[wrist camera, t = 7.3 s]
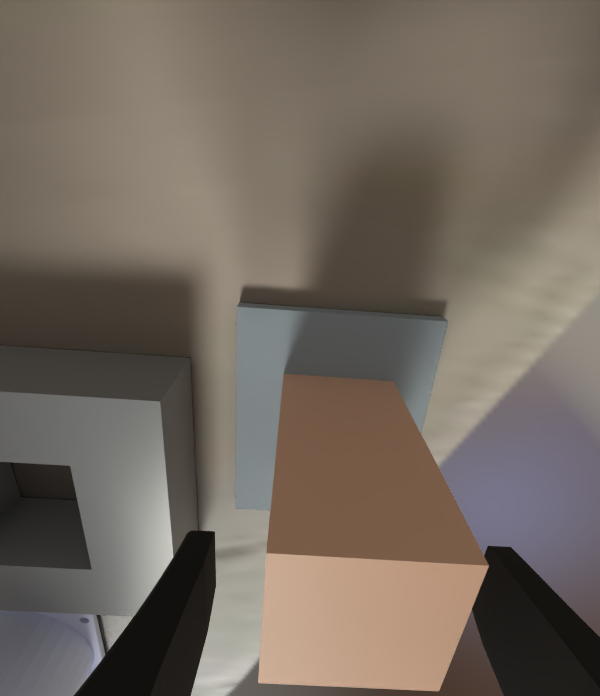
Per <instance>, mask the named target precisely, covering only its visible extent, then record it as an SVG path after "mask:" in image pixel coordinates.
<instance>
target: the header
mask: <svg viewBox="0 0 600 696" xmlns="http://www.w3.org/2000/svg"><path fill="white" fill-rule="evenodd" d="M11 462H13V463H30V464H48V465H65V466H70V468H71V473H72V478H73V482H74V487H75V492H76V497H77V500H63V499H45V498H26V497H20V493H19V490H18V486H17V483H16V479H15V476H14V472H13V469H12V465H11ZM191 530H194V531H198V511H197V490H196V468H195V447H194V425H193V404H192V382H191V361H190V358H186V357H171V356H156V355H141V354H126V353H110V352H95V351H80V350H65V349H50V348H34V347H19V346H4V345H0V610H5V611H26V612H48V613H70V614H92V615H114V616H135V614H136V613H137V611H138V610H139V608H140V607H141V606H142V604H143V603H144V601H145V600H146V598H147V597H148V595H149V594H150V592H151V591H152V590H153V588H154V587H155V585H156V584H157V582H158V581H159V579H160V577H161V576H162V574H163V573H164V571H165V570H166V568H167V567H168V565H169V563H170V562H171V560H172V558H173V557H174V555H175V553H176V552H177V550H178V548H179V547H180V545H181V543H182V541H183V540H184V538H185V536H186V534H187V533H188V532H190V531H191Z"/></svg>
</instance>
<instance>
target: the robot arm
mask: <svg viewBox="0 0 600 696" xmlns="http://www.w3.org/2000/svg"><path fill="white" fill-rule="evenodd" d="M484 557H485V559H486V561H487V563H488V565H489V567H488V570H487V572H486V575H485V577H484V580H483V582H482V585H481V587H480V590H479V592H478V595H477V597H476V600H475V602H474V605H473V607H472V611H473V614H474V618H475V621H476V624H477V627H478V630H479V634H480V636H481V640H482V643H483V646H484V648H485V651H486V653H487V656H488V658H489V660H490V663H491V666H492V668H493V670H494V673H495V675H496V678H497V680H498V682H499V684H500V687H501V690H502V692H503V694H504V696H600V637H599V636H598V635H597V634H596V633H595V632H594V631H593V630H592V629H591V628H590V627H589V626H588V625H587V624H586V623H585V622H584V621H583V620H582V619H581V618H580V617H579V616H578V615H577V614H576V613H575V612H574V611H573V610H572V609H571V608H570V607H569V606H568V605H567V604H566V603H565V602H564V601H563V600H562V599H561V598H560V597H559V596H558V595H557V594H556V593H555V592H554V591H553V590H552V589H551V588H550V587H549V586H548V585H547V583H545V581H543V579H542V578H541V577H540V576H539V575H538V574H537V573H536V572H535V571H534V570H533V569H532V568H531V567H530V566H529V565H528V564H527V563H526V562H525V561H524V560H523V559H522V558H521V557H520V556H519V555H518V554H517V553H516V552H515V551H514V550H513V549H512V548H511V547H497V546H488V547H487V550H486V553H485V555H484ZM215 588H216V567H215V532H213V531H194V530H191V531H190V532H188V533H187V534H186V536H185V538H184V540H183V541H182V543H181V545H180V547H179V548H178V550H177V552H176V553H175V555H174V557H173V558H172V560H171V562H170V563H169V565H168V567H167V568H166V570H165V571H164V573H163V574H162V576H161V577H160V579H159V581H158V582H157V584H156V585H155V587H154V588H153V590H152V591H151V592H150V594H149V595H148V597H147V598H146V600H145V601H144V603H143V604H142V606H141V607H140V608H139V610H138V611H137V613H136V614H135V616H134V617H133V619H132V620H131V621H130V623H129V624H128V626H127V627H126V628H125V630H124V631H123V632H122V634H121V635H120V636H119V638H118V639H117V640H116V642H115V643H114V644H113V646H112V647H111V648H110V650H109V651H108V652H107V654H106V655H105V651H104V647H103V642H102V638H101V633H100V628H99V624H98V619H97V615H92V614H70V613H48V612H26V611H5V610H0V696H191V692H192V688H193V684H194V681H195V677H196V673H197V670H198V666H199V662H200V658H201V655H202V651H203V647H204V643H205V640H206V636H207V632H208V627H209V621H210V616H211V610H212V605H213V599H214V593H215Z"/></svg>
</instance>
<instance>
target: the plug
mask: <svg viewBox="0 0 600 696" xmlns="http://www.w3.org/2000/svg"><path fill="white" fill-rule="evenodd" d="M488 567H489V565H488V563H487V561H486V559H485V557H484V555H483V553H482V551H481V549H480V547H479V545H478V543H477V542H476V540H475V538H474V536H473V534H472V532H471V530H470V528H469V526H468V524H467V522H466V520H465V518H464V516H463V514H462V512H461V511H460V509H459V507H458V505H457V503H456V501H455V499H454V497H453V495H452V493H451V491H450V489H449V487H448V485H447V484H446V482H445V480H444V478H443V476H442V474H441V472H440V470H439V468H438V466H437V464H436V462H435V460H434V458H433V456H432V454H431V452H430V450H429V449H428V447H427V445H426V443H425V441H424V439H423V437H422V435H421V433H420V431H419V429H418V427H417V425H416V423H415V421H414V419H413V418H412V416H411V414H410V412H409V410H408V408H407V406H406V404H405V402H404V400H403V398H402V396H401V394H400V392H399V390H398V388H397V387H396V385H395V383H394V381H380V380H366V379H352V378H338V377H324V376H310V375H296V374H283V384H282V394H281V405H280V415H279V426H278V436H277V447H276V458H275V468H274V479H273V489H272V500H271V511H270V521H269V532H268V542H267V553H266V568H265V584H264V600H263V616H262V632H261V647H260V663H259V680H258V683H270V684H292V685H314V686H316V685H317V686H336V687H358V688H380V689H403V690H424V691H439V690H440V687H441V684H442V682H443V680H444V677H445V675H446V672H447V670H448V667H449V665H450V662H451V660H452V657H453V655H454V652H455V650H456V647H457V645H458V642H459V640H460V637H461V635H462V632H463V630H464V627H465V625H466V622H467V620H468V617H469V615H470V612H471V610H472V607H473V605H474V602H475V600H476V597H477V595H478V592H479V590H480V587H481V585H482V582H483V580H484V577H485V575H486V572H487V570H488Z"/></svg>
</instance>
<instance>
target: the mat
mask: <svg viewBox="0 0 600 696" xmlns="http://www.w3.org/2000/svg"><path fill="white" fill-rule="evenodd" d="M447 324H448V321H447V320H446V319H444V318H443V317H438V316H424V315H410V314H396V313H381V312H367V311H353V310H339V309H324V308H310V307H296V306H282V305H267V304H253V303H239V304H238V306H237V364H236V509H251V510H269V511H271V500H272V489H273V479H274V468H275V458H276V447H277V436H278V426H279V415H280V405H281V394H282V384H283V374H296V375H310V376H324V377H338V378H352V379H366V380H380V381H394V383H395V385H396V387H397V388H398V390H399V392H400V394H401V396H402V398H403V400H404V402H405V404H406V406H407V408H408V410H409V412H410V414H411V416H412V418H413V419H414V421H415V423H416V425H417V427H418V429H419V431H420V433H421V432H422V428H423V424H424V420H425V416H426V411H427V407H428V403H429V399H430V395H431V390H432V386H433V382H434V378H435V374H436V370H437V365H438V361H439V357H440V353H441V349H442V345H443V340H444V336H445V332H446V328H447Z"/></svg>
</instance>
